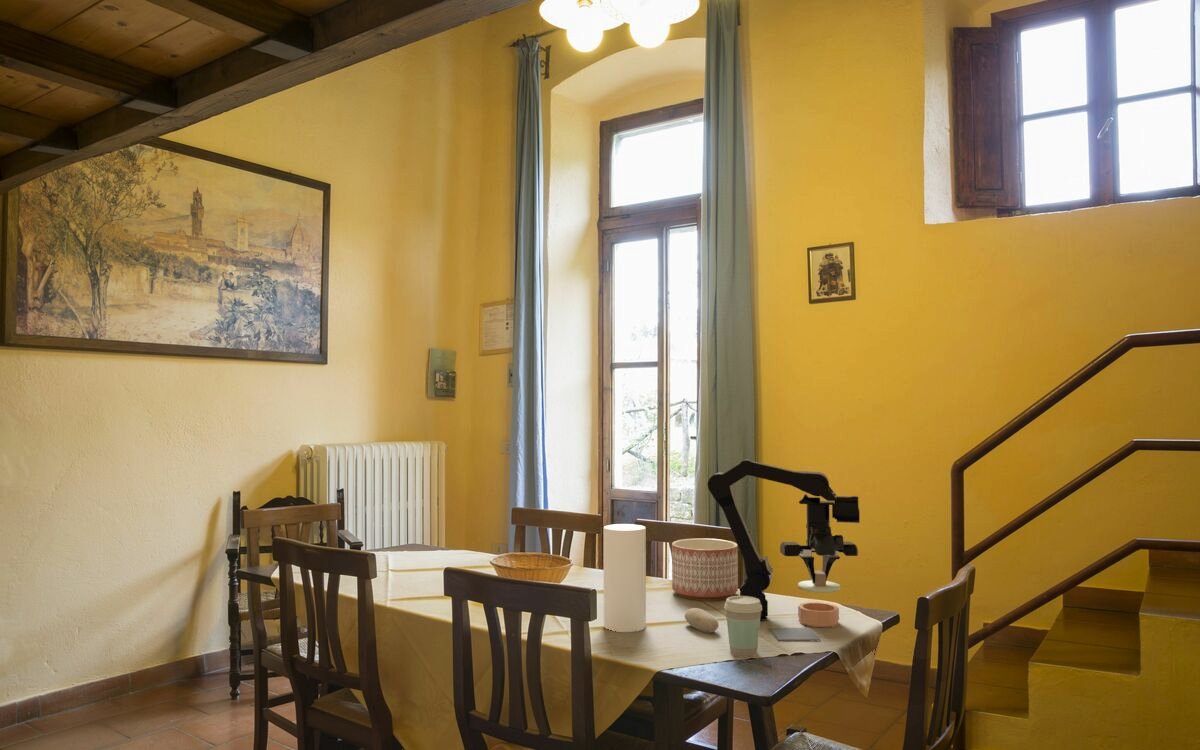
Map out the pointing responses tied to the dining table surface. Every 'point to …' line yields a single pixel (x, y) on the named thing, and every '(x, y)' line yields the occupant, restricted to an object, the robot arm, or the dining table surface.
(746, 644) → the coffee cup
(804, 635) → the mat
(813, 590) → the lid
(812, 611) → the bowl
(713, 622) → the stone
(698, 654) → the dining table surface
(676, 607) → the dining table surface
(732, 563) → the planter
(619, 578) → the tall pillar cylinder
